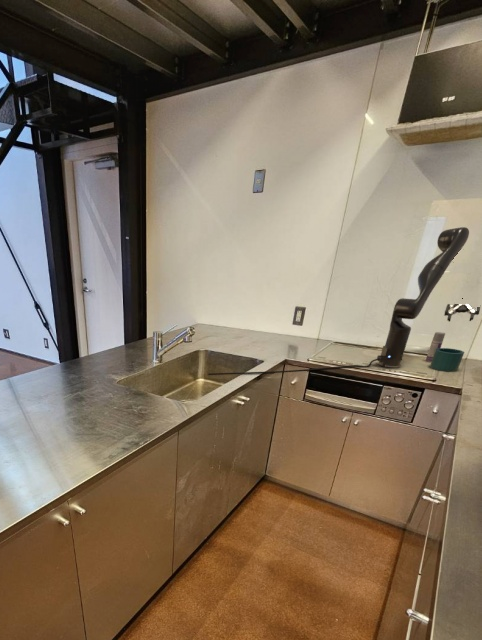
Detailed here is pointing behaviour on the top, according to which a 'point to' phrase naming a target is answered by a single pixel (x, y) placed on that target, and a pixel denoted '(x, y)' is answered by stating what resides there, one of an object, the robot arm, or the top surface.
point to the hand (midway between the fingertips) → (459, 320)
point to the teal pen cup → (446, 359)
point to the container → (435, 345)
